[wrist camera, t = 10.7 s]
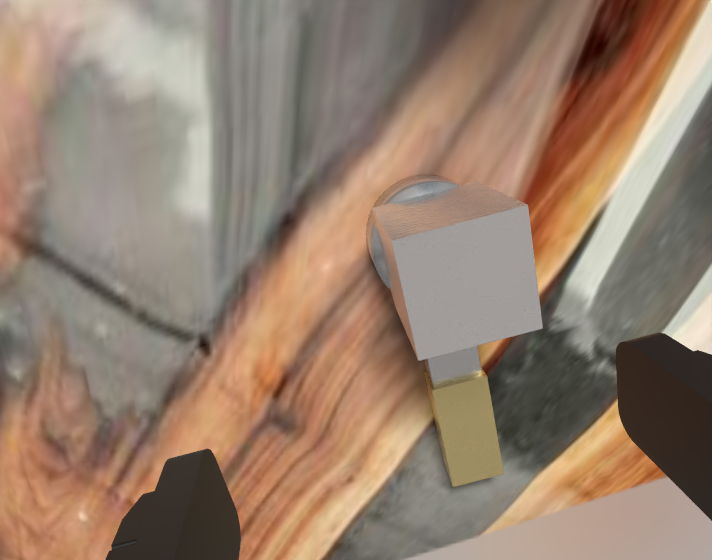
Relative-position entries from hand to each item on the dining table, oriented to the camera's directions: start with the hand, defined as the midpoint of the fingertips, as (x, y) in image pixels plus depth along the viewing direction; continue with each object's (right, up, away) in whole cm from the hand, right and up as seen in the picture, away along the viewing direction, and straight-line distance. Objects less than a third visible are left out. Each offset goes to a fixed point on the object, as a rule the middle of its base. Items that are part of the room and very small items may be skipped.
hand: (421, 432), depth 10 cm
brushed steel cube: (+3, +5, +18) cm, 19 cm away
